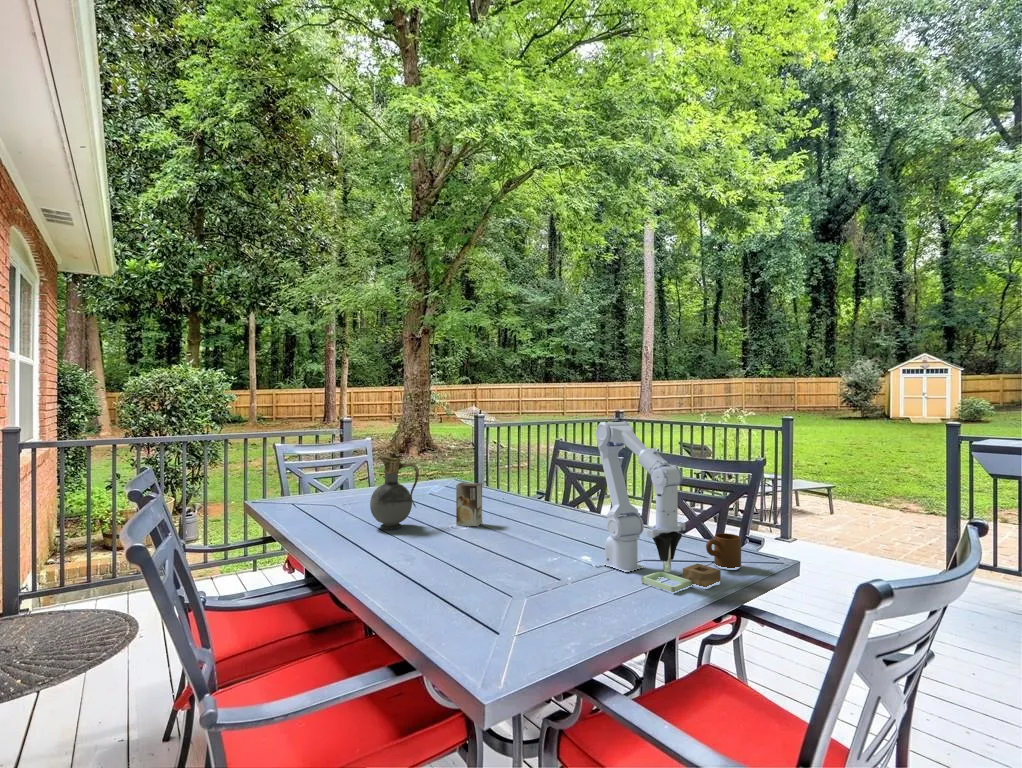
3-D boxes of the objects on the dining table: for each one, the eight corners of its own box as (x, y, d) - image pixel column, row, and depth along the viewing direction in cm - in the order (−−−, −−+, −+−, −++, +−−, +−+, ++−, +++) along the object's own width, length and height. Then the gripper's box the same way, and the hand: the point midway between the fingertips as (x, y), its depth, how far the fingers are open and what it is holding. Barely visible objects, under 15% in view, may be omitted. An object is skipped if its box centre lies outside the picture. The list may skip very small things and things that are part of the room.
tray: (641, 583, 156) (641, 577, 156) (660, 577, 161) (660, 571, 161) (673, 594, 148) (673, 587, 148) (691, 587, 153) (691, 580, 153)
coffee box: (483, 523, 224) (483, 483, 225) (477, 527, 218) (477, 485, 218) (461, 521, 227) (461, 482, 227) (455, 525, 221) (455, 484, 221)
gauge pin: (661, 570, 155) (661, 541, 155) (666, 569, 156) (666, 540, 156) (668, 572, 153) (668, 543, 153) (672, 571, 154) (672, 541, 155)
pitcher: (366, 526, 218) (367, 449, 218) (413, 521, 228) (414, 446, 228) (375, 533, 209) (375, 452, 209) (423, 527, 218) (424, 449, 219)
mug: (716, 574, 164) (716, 542, 164) (697, 567, 171) (697, 535, 171) (746, 569, 169) (746, 537, 169) (727, 562, 176) (727, 532, 176)
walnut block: (682, 582, 157) (682, 568, 157) (697, 577, 161) (697, 563, 161) (705, 590, 151) (705, 575, 151) (720, 584, 156) (720, 569, 156)
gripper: (662, 516, 147) (662, 568, 147) (694, 509, 156) (694, 558, 156) (640, 511, 153) (640, 561, 153) (673, 504, 162) (673, 552, 162)
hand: (666, 559), depth 155 cm, fingers closed on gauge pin, 2 cm apart
